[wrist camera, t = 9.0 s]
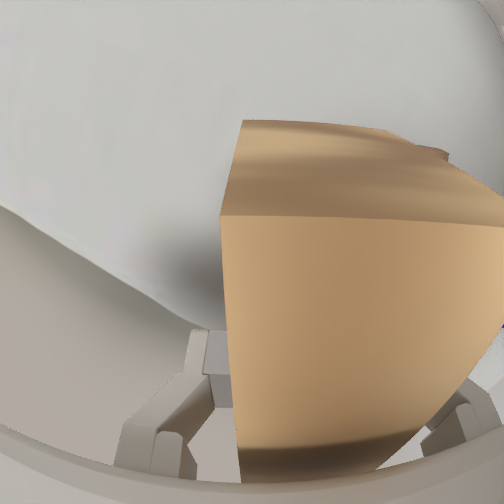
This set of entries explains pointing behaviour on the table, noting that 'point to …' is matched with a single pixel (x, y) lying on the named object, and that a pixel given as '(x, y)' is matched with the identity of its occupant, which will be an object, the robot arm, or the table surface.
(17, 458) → the robot arm
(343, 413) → the top rail
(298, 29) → the table surface
